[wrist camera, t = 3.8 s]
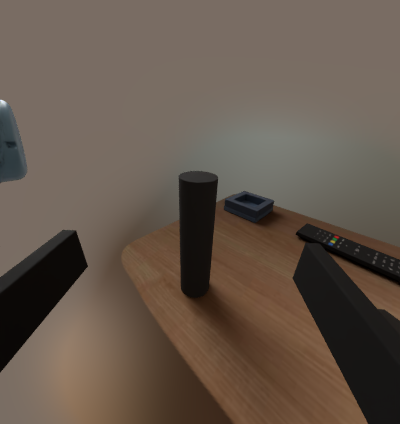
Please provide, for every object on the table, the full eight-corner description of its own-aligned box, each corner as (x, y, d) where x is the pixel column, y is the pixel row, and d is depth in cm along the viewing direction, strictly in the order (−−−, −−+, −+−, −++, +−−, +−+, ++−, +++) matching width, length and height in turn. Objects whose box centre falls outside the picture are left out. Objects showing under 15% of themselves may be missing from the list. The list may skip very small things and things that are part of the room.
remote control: (305, 228, 41) (307, 223, 40) (486, 303, 25) (493, 296, 24) (294, 237, 38) (296, 231, 37) (494, 329, 22) (503, 322, 21)
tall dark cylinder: (175, 284, 26) (170, 175, 19) (195, 270, 28) (199, 169, 21) (193, 303, 23) (197, 185, 16) (214, 286, 26) (226, 177, 19)
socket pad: (223, 209, 48) (224, 199, 46) (242, 200, 54) (244, 190, 52) (255, 223, 42) (257, 211, 41) (272, 210, 48) (275, 200, 47)
